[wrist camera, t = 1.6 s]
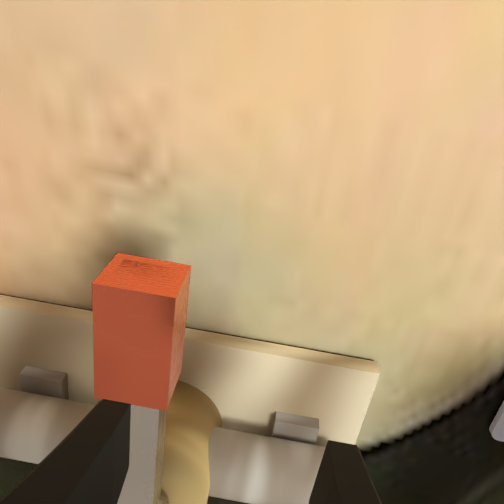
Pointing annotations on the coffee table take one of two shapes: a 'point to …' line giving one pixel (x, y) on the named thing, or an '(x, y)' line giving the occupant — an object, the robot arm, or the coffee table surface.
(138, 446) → the valve lever
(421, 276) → the coffee table surface
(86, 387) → the valve fixture
